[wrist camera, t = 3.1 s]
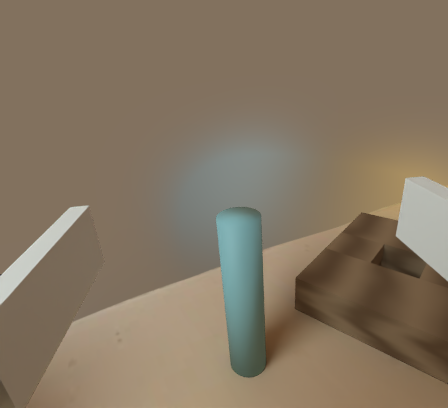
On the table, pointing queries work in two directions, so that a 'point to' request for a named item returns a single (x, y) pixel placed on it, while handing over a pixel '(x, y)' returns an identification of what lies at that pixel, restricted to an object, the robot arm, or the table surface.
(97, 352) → the table surface
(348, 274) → the walnut hole block
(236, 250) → the teal dowel
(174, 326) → the table surface
